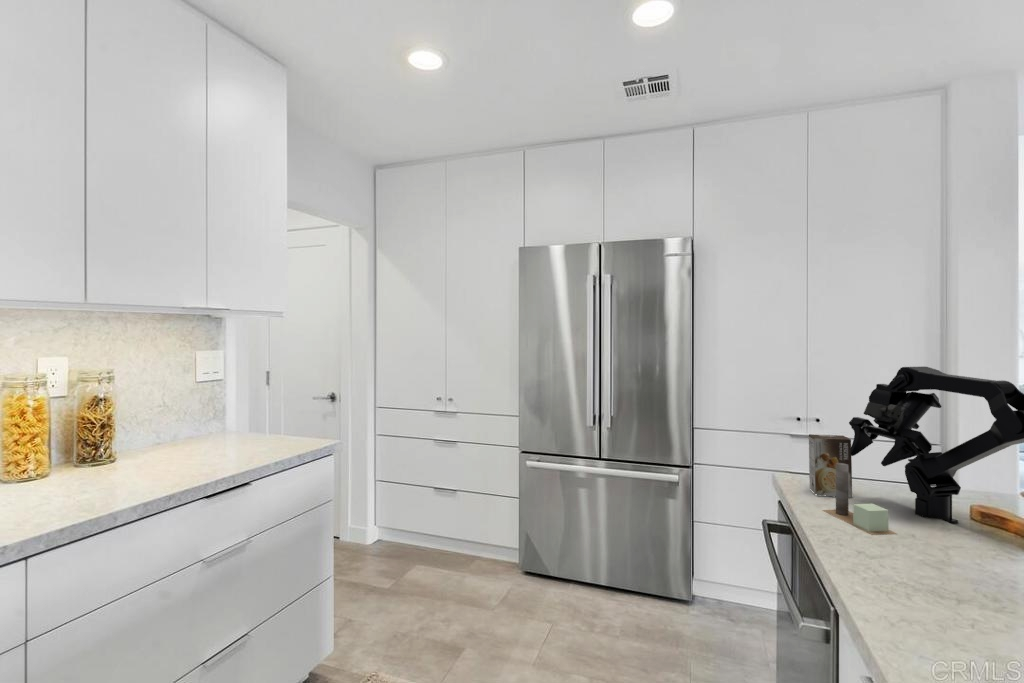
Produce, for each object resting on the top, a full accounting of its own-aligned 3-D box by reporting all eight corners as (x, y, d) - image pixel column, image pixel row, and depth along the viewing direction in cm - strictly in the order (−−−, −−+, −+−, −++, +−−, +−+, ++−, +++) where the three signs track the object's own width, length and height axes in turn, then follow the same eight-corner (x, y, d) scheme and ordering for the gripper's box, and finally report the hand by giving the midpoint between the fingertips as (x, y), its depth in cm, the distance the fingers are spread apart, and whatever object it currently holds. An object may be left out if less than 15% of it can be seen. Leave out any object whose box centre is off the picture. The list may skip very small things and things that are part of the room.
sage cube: (872, 523, 119) (872, 503, 119) (888, 531, 114) (888, 510, 114) (853, 524, 119) (853, 504, 119) (868, 531, 114) (868, 511, 114)
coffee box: (845, 492, 146) (845, 435, 146) (852, 498, 140) (852, 439, 140) (808, 489, 149) (808, 433, 148) (814, 496, 142) (814, 437, 142)
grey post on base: (844, 513, 129) (844, 461, 129) (897, 538, 113) (897, 478, 113) (821, 514, 128) (821, 461, 128) (871, 539, 112) (871, 479, 112)
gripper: (856, 386, 137) (817, 429, 135) (923, 397, 118) (879, 447, 117) (881, 414, 138) (843, 457, 137) (951, 430, 120) (908, 479, 119)
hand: (866, 459), depth 127 cm, fingers open, 9 cm apart
